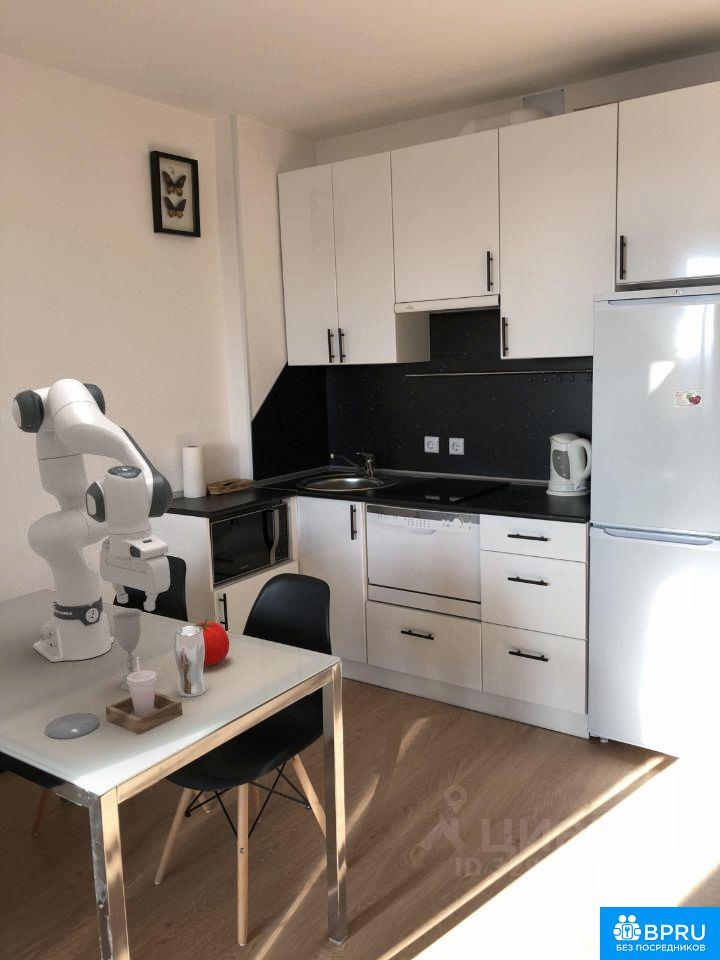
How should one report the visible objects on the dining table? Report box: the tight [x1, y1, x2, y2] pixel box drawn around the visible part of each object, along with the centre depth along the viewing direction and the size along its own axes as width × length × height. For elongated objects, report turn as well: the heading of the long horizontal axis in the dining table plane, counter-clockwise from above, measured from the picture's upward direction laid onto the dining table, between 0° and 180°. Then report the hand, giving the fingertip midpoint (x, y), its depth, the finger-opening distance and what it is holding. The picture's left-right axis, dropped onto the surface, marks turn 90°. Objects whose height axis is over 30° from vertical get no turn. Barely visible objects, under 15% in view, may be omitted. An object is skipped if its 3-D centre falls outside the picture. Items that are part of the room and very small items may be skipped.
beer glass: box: [173, 625, 206, 698], centre depth 192 cm, size 7×7×15 cm
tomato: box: [194, 618, 230, 667], centre depth 208 cm, size 12×12×11 cm
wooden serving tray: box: [105, 691, 183, 735], centre depth 180 cm, size 12×12×3 cm
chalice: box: [111, 608, 142, 690], centre depth 196 cm, size 7×7×18 cm
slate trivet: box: [44, 712, 101, 740], centre depth 177 cm, size 11×11×1 cm
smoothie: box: [127, 655, 158, 718], centre depth 179 cm, size 6×6×14 cm
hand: (136, 606), depth 176 cm, fingers open, 8 cm apart
